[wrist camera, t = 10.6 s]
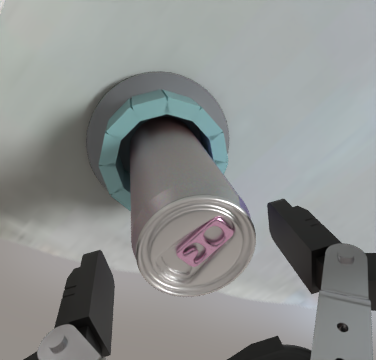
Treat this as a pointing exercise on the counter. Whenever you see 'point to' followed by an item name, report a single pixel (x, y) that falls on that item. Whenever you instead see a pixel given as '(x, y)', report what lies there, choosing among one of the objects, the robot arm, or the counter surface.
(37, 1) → the counter surface
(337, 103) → the counter surface
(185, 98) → the holder
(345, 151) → the counter surface
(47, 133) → the counter surface
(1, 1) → the mug
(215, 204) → the beverage can
